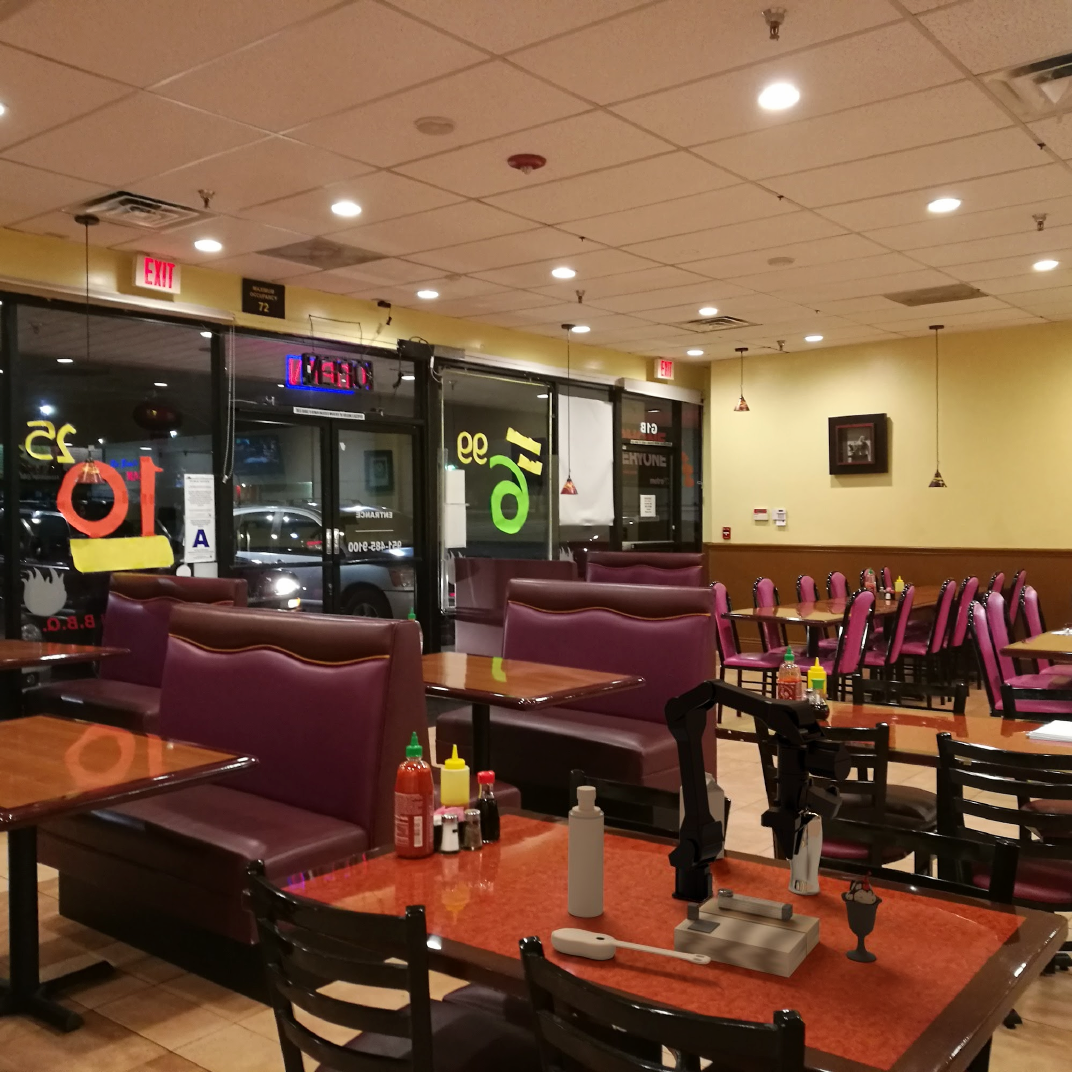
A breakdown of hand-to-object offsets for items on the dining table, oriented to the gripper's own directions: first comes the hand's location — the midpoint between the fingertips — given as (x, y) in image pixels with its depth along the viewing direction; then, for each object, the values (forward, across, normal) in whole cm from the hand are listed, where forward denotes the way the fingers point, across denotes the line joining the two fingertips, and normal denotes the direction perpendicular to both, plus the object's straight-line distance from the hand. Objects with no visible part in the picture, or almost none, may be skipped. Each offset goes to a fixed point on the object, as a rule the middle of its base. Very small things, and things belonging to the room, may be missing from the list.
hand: (792, 856), depth 191 cm
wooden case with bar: (+13, -12, +4) cm, 18 cm away
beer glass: (+13, +22, +4) cm, 26 cm away
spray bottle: (+13, -12, +36) cm, 40 cm away
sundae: (+13, -6, -14) cm, 20 cm away
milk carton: (+13, +32, +30) cm, 46 cm away
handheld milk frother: (+13, -29, +19) cm, 37 cm away
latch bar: (+9, -7, +5) cm, 12 cm away
